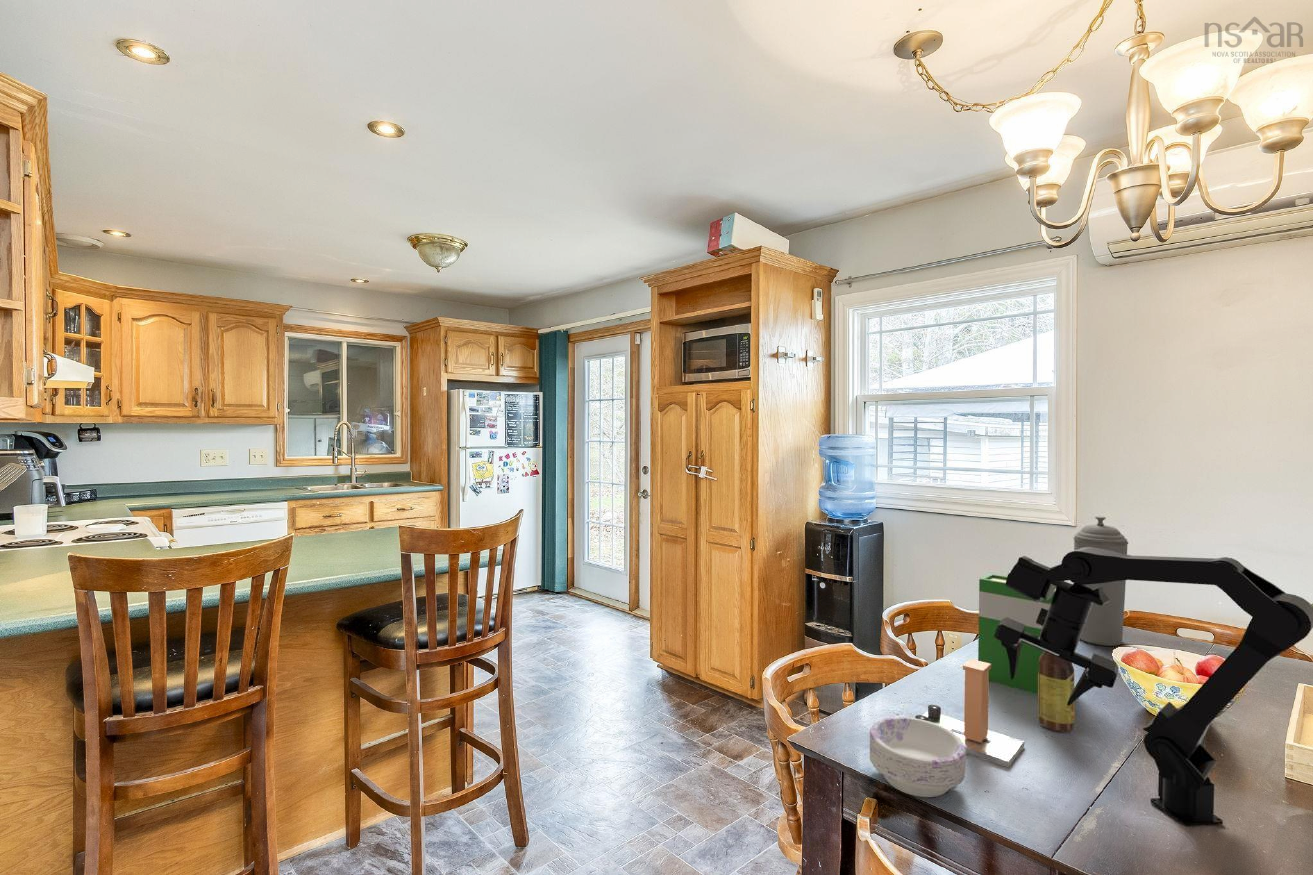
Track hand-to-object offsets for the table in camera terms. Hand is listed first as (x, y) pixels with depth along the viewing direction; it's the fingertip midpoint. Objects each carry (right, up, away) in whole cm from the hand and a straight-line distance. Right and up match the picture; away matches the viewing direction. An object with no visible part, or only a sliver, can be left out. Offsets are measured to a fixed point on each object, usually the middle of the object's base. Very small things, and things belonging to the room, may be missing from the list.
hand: (1039, 691), depth 117 cm
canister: (+55, -11, +64) cm, 85 cm away
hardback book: (+16, -12, +33) cm, 39 cm away
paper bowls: (-26, -13, -7) cm, 30 cm away
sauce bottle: (+11, -12, +13) cm, 21 cm away
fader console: (-10, -12, +7) cm, 17 cm away
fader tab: (-9, -11, +5) cm, 15 cm away
